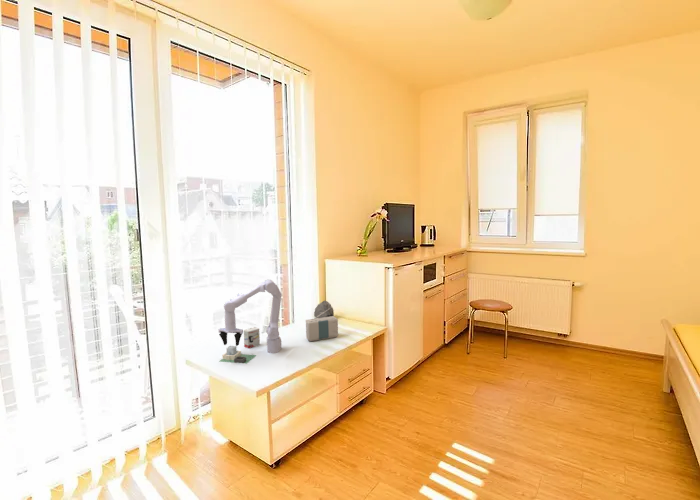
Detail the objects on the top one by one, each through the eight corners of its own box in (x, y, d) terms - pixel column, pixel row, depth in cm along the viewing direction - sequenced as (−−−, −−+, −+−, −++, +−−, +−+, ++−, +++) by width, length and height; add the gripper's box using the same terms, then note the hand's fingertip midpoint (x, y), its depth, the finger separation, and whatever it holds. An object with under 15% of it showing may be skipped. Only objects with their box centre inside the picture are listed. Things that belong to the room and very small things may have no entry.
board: (230, 354, 215) (230, 353, 215) (256, 356, 212) (256, 355, 212) (218, 363, 204) (218, 361, 204) (246, 365, 200) (246, 363, 200)
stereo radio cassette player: (308, 342, 234) (307, 312, 232) (305, 338, 241) (304, 309, 239) (338, 337, 242) (338, 308, 240) (334, 334, 250) (333, 305, 248)
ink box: (248, 350, 223) (247, 331, 222) (244, 348, 226) (243, 330, 225) (260, 346, 229) (259, 328, 228) (256, 344, 232) (255, 326, 231)
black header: (234, 362, 202) (234, 359, 202) (237, 359, 205) (237, 356, 205) (243, 363, 201) (242, 359, 200) (246, 360, 204) (246, 357, 204)
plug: (230, 355, 212) (230, 345, 211) (236, 356, 211) (236, 346, 210) (226, 358, 208) (226, 348, 207) (232, 359, 207) (232, 348, 206)
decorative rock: (334, 319, 285) (334, 300, 284) (330, 321, 279) (330, 302, 278) (317, 316, 293) (317, 298, 291) (312, 318, 287) (312, 300, 285)
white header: (229, 354, 214) (229, 350, 214) (241, 354, 212) (241, 350, 212) (222, 359, 206) (221, 355, 206) (234, 360, 204) (233, 356, 204)
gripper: (214, 323, 205) (216, 346, 206) (238, 324, 202) (239, 348, 203) (221, 319, 212) (223, 342, 213) (244, 321, 209) (245, 343, 210)
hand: (231, 344), depth 209 cm, fingers open, 7 cm apart
